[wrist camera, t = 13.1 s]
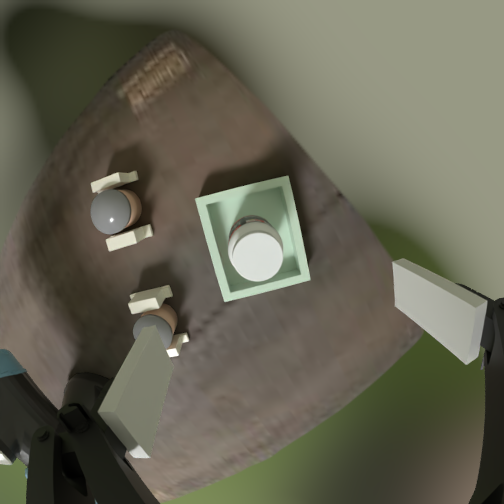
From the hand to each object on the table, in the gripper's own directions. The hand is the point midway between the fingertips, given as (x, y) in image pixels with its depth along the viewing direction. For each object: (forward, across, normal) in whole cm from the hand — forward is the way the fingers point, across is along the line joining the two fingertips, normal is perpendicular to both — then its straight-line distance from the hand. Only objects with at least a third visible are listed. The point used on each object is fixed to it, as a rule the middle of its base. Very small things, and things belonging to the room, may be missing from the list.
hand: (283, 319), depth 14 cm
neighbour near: (+23, -15, +8) cm, 29 cm away
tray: (+23, 0, 0) cm, 23 cm away
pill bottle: (+22, 0, 0) cm, 22 cm away
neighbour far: (+23, -15, -8) cm, 28 cm away
